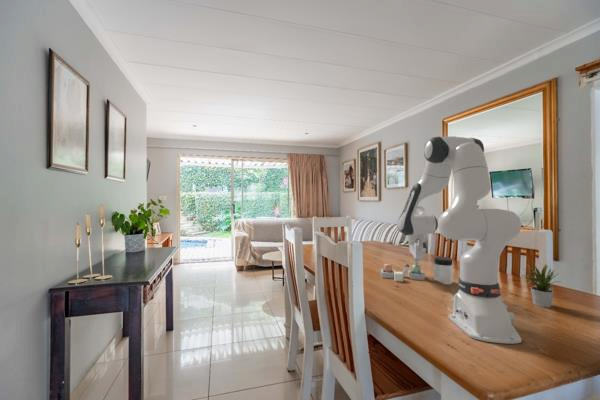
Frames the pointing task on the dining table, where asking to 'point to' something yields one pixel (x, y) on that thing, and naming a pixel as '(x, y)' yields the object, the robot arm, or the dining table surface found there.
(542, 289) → the house plant
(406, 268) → the ball-tipped lever
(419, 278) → the panel
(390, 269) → the terracotta button
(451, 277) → the jar
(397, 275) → the slider knob
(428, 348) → the dining table surface
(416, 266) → the green button
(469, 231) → the robot arm
